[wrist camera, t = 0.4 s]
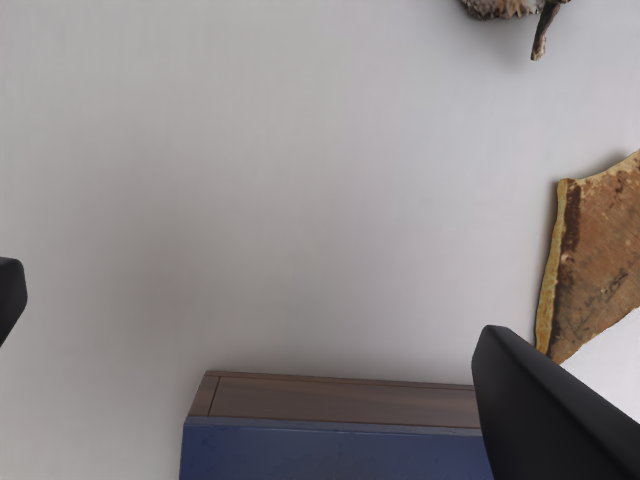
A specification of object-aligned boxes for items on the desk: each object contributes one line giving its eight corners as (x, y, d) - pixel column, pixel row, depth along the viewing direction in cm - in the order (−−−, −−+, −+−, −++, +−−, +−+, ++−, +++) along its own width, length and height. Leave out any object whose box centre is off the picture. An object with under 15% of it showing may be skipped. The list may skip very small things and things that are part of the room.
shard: (528, 368, 26) (547, 380, 24) (450, 253, 25) (464, 255, 23) (684, 252, 26) (715, 254, 24) (614, 135, 25) (640, 129, 24)
